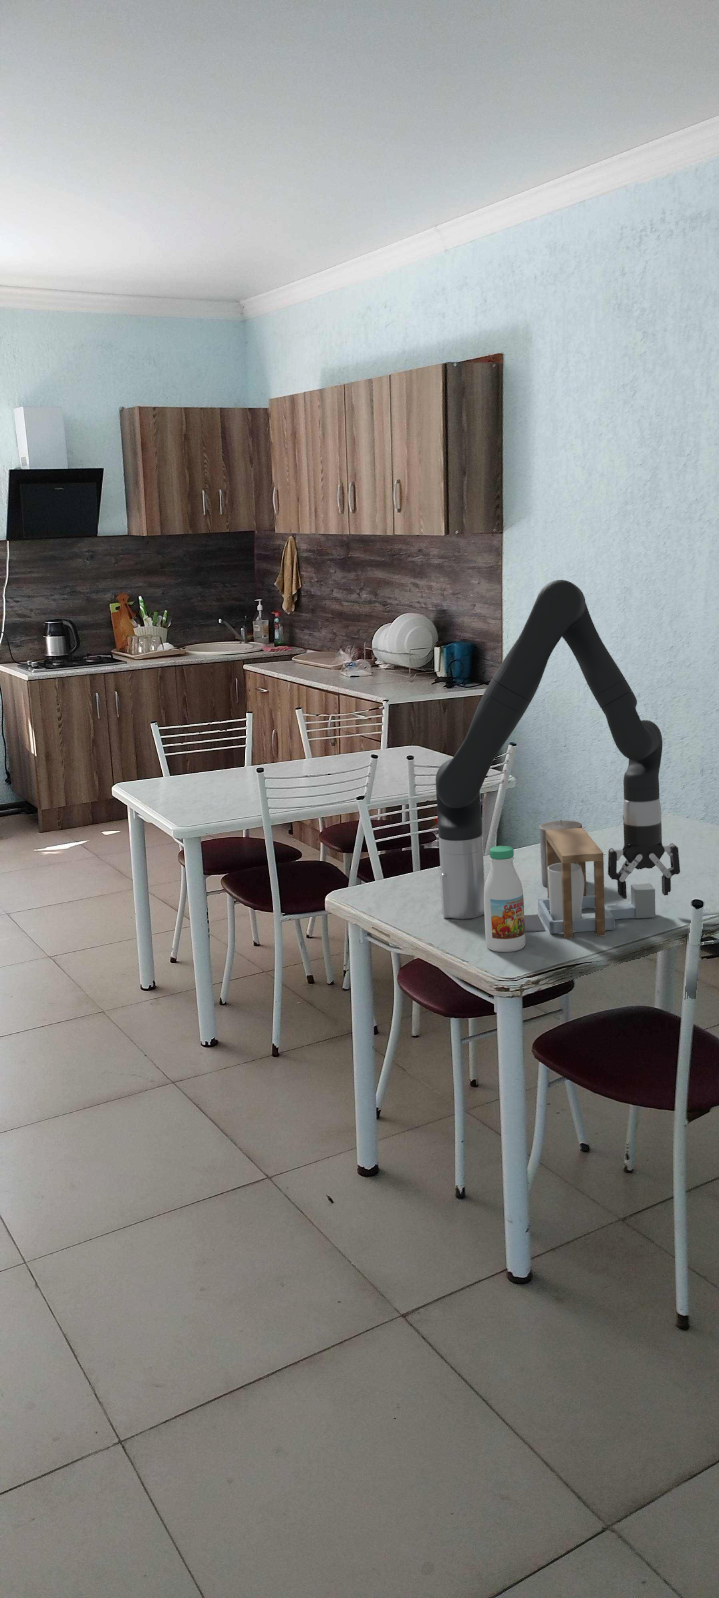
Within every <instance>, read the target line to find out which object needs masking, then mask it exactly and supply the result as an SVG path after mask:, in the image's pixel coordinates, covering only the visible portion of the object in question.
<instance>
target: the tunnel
mask: <svg viewBox="0 0 719 1598" xmlns="http://www.w3.org/2000/svg"><path fill="white" fill-rule="evenodd" d="M545 833H546V862H547V887H546V889H547V899H549V884H548V866H550V865H552V864H555V852H556V854H557V856H558V857H559V859H560V860H561V873H562V904H563V933H562V934H563V938H564V939H573V938H574V932H573V920H572V887H571V863H575V862H577V864H578V865H580V866H581V869H582V872H583V876H584V894H583V896H587V873H586V872H587V869H586V867H587V866H586V863H588V862H593V878H594V879H593V880H594V881H593V882H594V883H593V884H594V887H593V888H594V895H595V907H594V918H595V935H596V936H597V937H606V930H605V904H606V903H605V867H604V865H605V861H604V852H603V850H601V848H600V847H599V846H598V845H597V843H596V842H595V841H594V839H593V838H592V837H591V836H590V834H589V833H588V832H587V830H586V829H585V828H584V827H582V828H573V829H558V830H545Z"/></svg>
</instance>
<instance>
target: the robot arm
mask: <svg viewBox="0 0 719 1598" xmlns="http://www.w3.org/2000/svg"><path fill="white" fill-rule="evenodd" d="M586 602H587V601H586V597H585V595H584V593H583V591H582V589H581V588H579V587H578V586H577V585H576V584H574V583H573V582H572V581H568V580H565V579H556V580H553V581H550V582H548V583H547V584H545V585H544V586H543V587H542V589H540V591H539V592H538V595H537V597H536V599H535V601H534V603H533V606H532V609H531V611H530V613H529V616H528V617H527V619H526V622H525V624H524V627H523V628H522V630H521V632H520V634H519V636H518V637H517V640H516V641H515V643H513V645H512V647H511V648H510V650H508V653H507V654H506V656H505V657H504V659H502V660H503V661H502V662H501V663H500V665H499V666H498V669H497V670H496V671H495V673H494V675H493V676H492V678H491V680H490V682H489V683H488V685H487V686H486V688H485V690H484V692H483V694H482V696H481V698H480V700H479V703H478V704H477V708H476V710H475V711H474V715H473V717H472V720H471V722H470V726H469V728H468V732H467V733H466V736H465V738H464V739H463V741H462V744H461V745H460V746H459V748H458V750H457V751H456V753H455V754H454V755H453V757H452V758H451V759H448V760H446V761H445V762H443V763H442V764H441V765H440V766H439V768H438V769H437V772H436V775H435V791H436V793H435V794H436V808H437V809H436V811H437V813H436V814H437V815H436V816H437V830H438V831H437V832H438V846H439V864H440V865H439V880H440V881H439V882H440V883H439V884H440V897H441V901H440V902H441V911H442V914H443V918H445V919H446V918H447V919H448V918H449V919H450V918H451V919H456V920H458V919H459V920H467V919H469V920H470V919H475V918H478V917H481V916H483V915H485V913H484V887H485V882H486V880H485V865H484V844H483V843H484V841H483V822H482V809H481V789H482V786H483V784H484V781H485V780H486V777H487V775H488V773H489V770H490V769H491V766H492V764H494V763H493V762H494V761H495V759H496V757H497V755H498V753H499V751H500V750H501V749H502V747H503V746H504V745H505V743H506V742H507V740H508V739H509V737H510V736H511V734H512V733H513V731H514V730H515V728H516V727H517V725H518V724H519V722H520V720H521V719H522V717H523V716H524V715H525V713H526V711H527V709H528V708H529V706H530V704H531V703H532V701H533V698H534V696H535V694H536V693H537V691H538V689H539V685H540V684H541V681H542V678H543V676H544V673H545V670H546V667H547V665H548V662H549V660H550V657H551V655H552V653H553V651H554V649H555V648H556V646H557V645H558V643H559V641H560V640H561V638H562V639H563V641H565V643H566V644H567V645H568V648H569V649H570V651H571V652H572V653H573V656H574V657H575V659H576V662H577V664H578V666H579V668H580V670H581V672H582V675H583V677H584V679H585V681H586V684H587V686H588V689H589V690H590V692H591V693H592V696H593V697H594V699H595V700H596V703H597V704H598V706H599V708H600V709H601V710H602V712H603V714H604V716H605V718H606V721H607V726H608V728H609V731H610V733H611V736H612V738H613V742H614V744H615V746H616V748H617V749H618V751H619V752H620V753H621V754H622V755H623V757H625V758H626V759H628V766H627V769H626V770H625V772H624V775H623V780H622V781H623V808H622V821H623V848H622V849H614V848H611V847H610V848H609V849H608V851H607V852H608V856H607V857H608V858H607V862H608V863H607V876H608V877H609V878H610V880H612V881H613V880H616V883H617V893H618V896H620V897H621V898H622V899H623V900H625V899H627V894H628V893H627V881H626V880H627V878H628V877H629V875H631V874H632V873H633V871H634V870H635V869H636V870H638V871H639V870H644V869H653V868H654V867H657V869H658V870H659V871H660V873H662V875H661V893H662V895H663V896H668V895H669V893H671V891H672V880H671V879H672V877H673V876H674V875H679V874H680V873H681V864H680V856H679V855H680V853H679V848H678V847H679V846H677V845H676V844H675V843H673V842H671V843H670V844H669V845H663V840H662V839H663V833H662V832H663V830H662V805H661V801H660V800H661V799H660V798H661V797H660V777H659V773H660V768H661V762H662V753H663V736H662V732H661V729H660V727H659V726H658V725H657V724H656V723H655V722H653V721H651V720H647V719H643V720H641V718H640V715H639V714H638V713H639V712H638V711H637V705H638V700H637V697H636V695H635V693H634V691H633V690H632V688H631V686H630V684H629V683H628V681H627V680H626V677H625V676H624V675H623V673H622V671H621V669H620V667H619V666H618V664H617V663H616V661H615V660H614V658H613V657H612V655H611V654H610V652H609V651H608V649H607V647H606V646H605V644H604V642H603V640H602V639H601V637H600V635H599V632H598V630H597V628H596V626H595V624H594V621H593V620H592V617H591V614H590V611H589V607H588V605H587V603H586ZM664 853H666V854H667V856H668V857H669V859H670V861H669V862H670V867H668V868H667V867H666V866H665V865H664V863H662V861H661V858H663V855H664ZM622 856H623V857H624V858H625V859H626V860H625V861H624V862H623V863H622V866H621V868H620V870H619V871H618V872H617V868H618V865H617V864H618V863H617V862H618V861H619V860H620V859H621V857H622Z"/></svg>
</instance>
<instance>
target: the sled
mask: <svg viewBox="0 0 719 1598" xmlns="http://www.w3.org/2000/svg"><path fill="white" fill-rule="evenodd" d="M589 908H590V909H591V908H592V909H593V908H595V894H594V895H586V896H583V900H582V909H589ZM537 909H538V913H539V915H540V916H541V918H542V921H543V922H544V924H545V926H546V928H547V930H548V933H549V934H550V935H552V934H563V920H557V921H553V920H552V918H551V916H550V901H549V899H548V898H539V899H538V898H537ZM633 918H635V919H644V918H645V919H646V918H656V888H655V887H654V886H653V885H652V884H651V883H649V882H648V883H637V884H630V903H623V904H610V905H607V904H606V903H605V931H608V930H615V929H616V920H622V919H633ZM572 920H573V933H579V932H580V933H581V932H594V931H595V917H588V918H587V917H586V918H582V919H572ZM595 932H596V931H595Z"/></svg>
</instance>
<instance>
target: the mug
mask: <svg viewBox="0 0 719 1598" xmlns="http://www.w3.org/2000/svg"><path fill="white" fill-rule="evenodd" d="M548 884H549V901H550V910H549V914H550V916H551V918H552V920H553V921H557V920H563V904H562V873H561V863H556V864H552V865H550V866H548ZM571 887H572V919H583V917H582V914H583V912H582V911H583V910H582V909H583V908H582V900H583V894H584V876H583V872H582V869H581V866H580V865H578V864H575V863H571Z"/></svg>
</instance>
